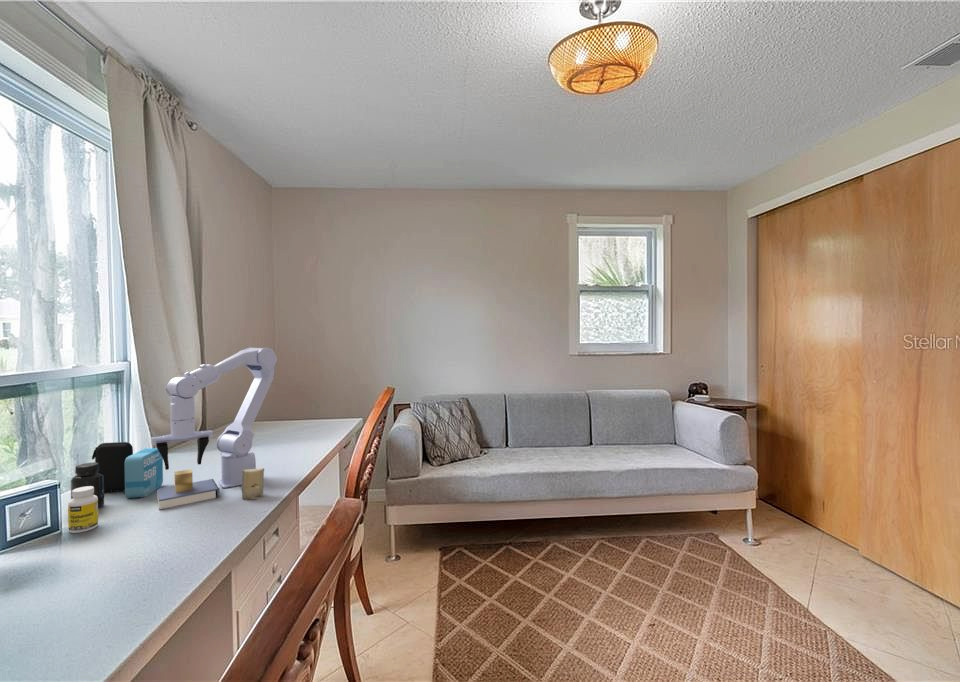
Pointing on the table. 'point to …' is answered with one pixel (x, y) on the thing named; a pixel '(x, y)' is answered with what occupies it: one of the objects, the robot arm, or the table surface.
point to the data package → (143, 473)
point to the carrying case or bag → (113, 463)
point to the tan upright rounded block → (252, 483)
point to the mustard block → (183, 481)
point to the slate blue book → (187, 494)
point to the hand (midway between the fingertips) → (183, 466)
